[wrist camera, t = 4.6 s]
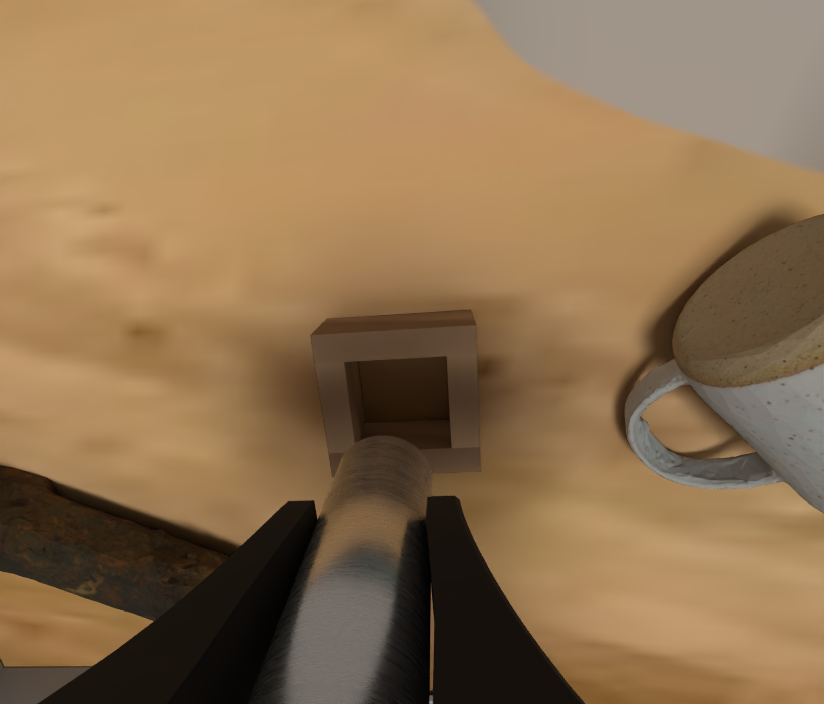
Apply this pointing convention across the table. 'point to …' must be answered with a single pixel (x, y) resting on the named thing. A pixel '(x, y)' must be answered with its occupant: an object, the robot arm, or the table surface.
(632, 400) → the ceramic mug
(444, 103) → the table surface
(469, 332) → the hollow square frame
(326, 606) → the rod
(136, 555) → the hand tool
